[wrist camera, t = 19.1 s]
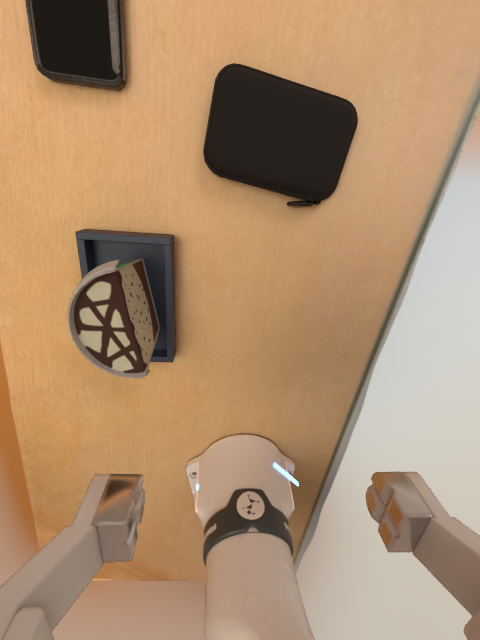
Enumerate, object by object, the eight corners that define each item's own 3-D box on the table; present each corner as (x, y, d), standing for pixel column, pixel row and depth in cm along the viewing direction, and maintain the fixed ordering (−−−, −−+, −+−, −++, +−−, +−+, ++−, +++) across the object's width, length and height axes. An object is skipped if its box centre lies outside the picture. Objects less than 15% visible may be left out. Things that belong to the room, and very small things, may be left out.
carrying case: (199, 182, 32) (321, 214, 35) (197, 181, 30) (330, 216, 32) (218, 64, 28) (356, 109, 31) (218, 50, 26) (370, 101, 28)
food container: (87, 251, 34) (39, 273, 25) (140, 244, 34) (111, 264, 25) (117, 343, 39) (86, 389, 30) (162, 337, 39) (145, 382, 30)
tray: (175, 352, 41) (173, 362, 39) (100, 350, 40) (93, 360, 38) (173, 234, 34) (170, 238, 32) (84, 228, 34) (75, 231, 31)
